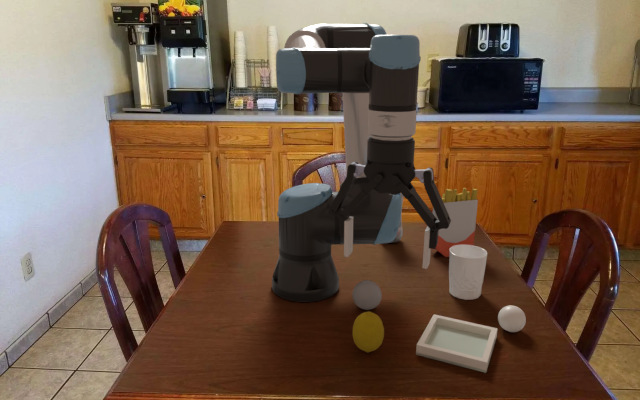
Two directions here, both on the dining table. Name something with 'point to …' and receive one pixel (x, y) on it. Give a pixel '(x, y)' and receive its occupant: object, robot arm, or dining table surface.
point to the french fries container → (458, 220)
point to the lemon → (368, 331)
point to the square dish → (458, 342)
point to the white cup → (466, 271)
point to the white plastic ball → (511, 318)
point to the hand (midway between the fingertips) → (386, 259)
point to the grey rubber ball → (367, 295)
